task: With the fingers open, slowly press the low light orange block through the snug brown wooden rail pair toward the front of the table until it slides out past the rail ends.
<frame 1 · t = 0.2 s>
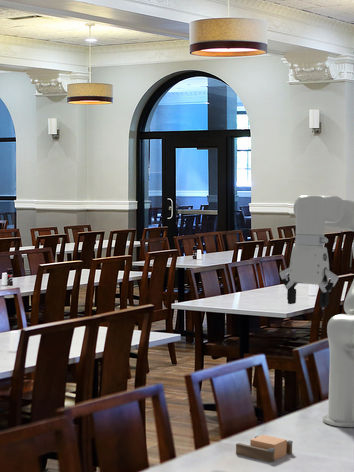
hand: (307, 305, 229), 36 cm above the table, tool pointing down, fingers open, 9 cm apart
light orange block: (268, 455, 216), on the table
brown wooden rail pair: (264, 453, 217), on the table
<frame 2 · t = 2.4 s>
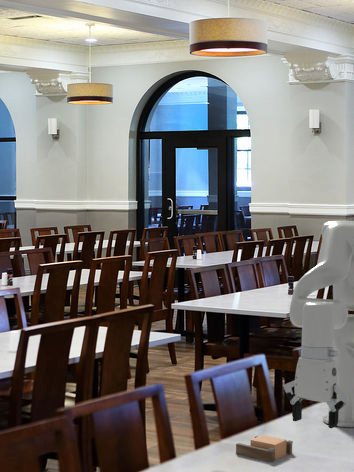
hand: (314, 423, 207), 10 cm above the table, tool pointing down, fingers open, 9 cm apart
nothing on the table moved.
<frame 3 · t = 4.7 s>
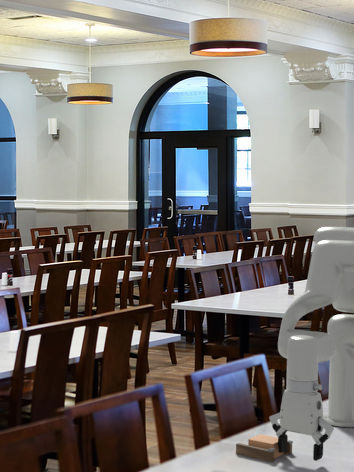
hand: (299, 455, 211), 2 cm above the table, tool pointing down, fingers open, 9 cm apart
nothing on the table moved.
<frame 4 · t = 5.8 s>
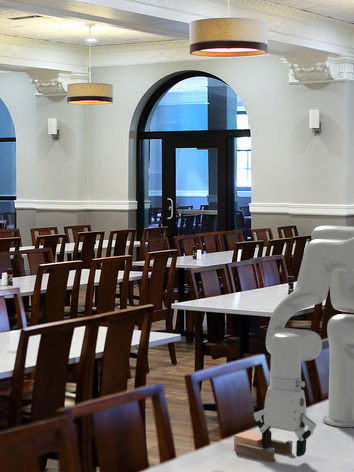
hand: (283, 451, 213), 2 cm above the table, tool pointing down, fingers open, 9 cm apart
light orange block: (251, 451, 220), on the table
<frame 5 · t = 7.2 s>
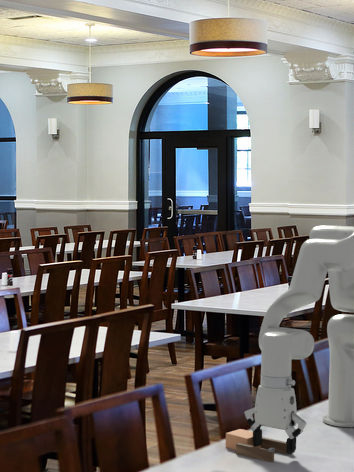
hand: (273, 449, 215), 2 cm above the table, tool pointing down, fingers open, 9 cm apart
light orange block: (243, 448, 222), on the table
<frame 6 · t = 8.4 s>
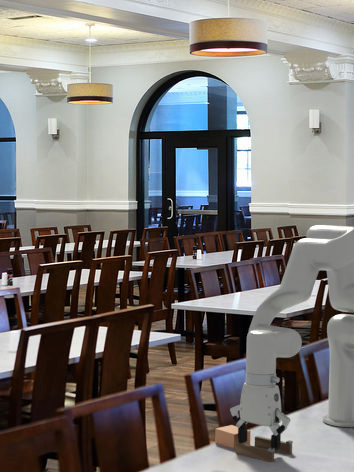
hand: (258, 446, 218), 2 cm above the table, tool pointing down, fingers open, 9 cm apart
light orange block: (232, 444, 225), on the table
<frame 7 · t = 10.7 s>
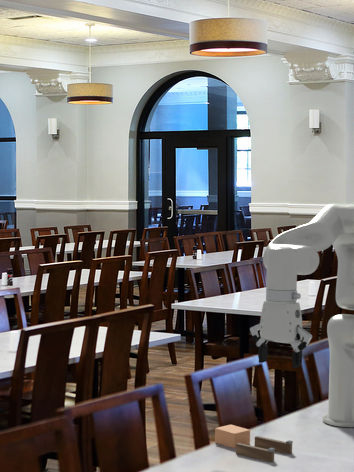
hand: (279, 364, 214), 23 cm above the table, tool pointing down, fingers open, 9 cm apart
nothing on the table moved.
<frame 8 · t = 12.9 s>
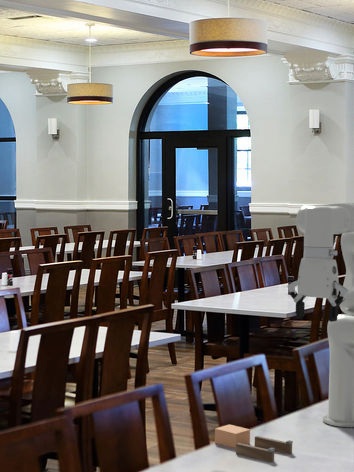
hand: (316, 319, 224), 33 cm above the table, tool pointing down, fingers open, 9 cm apart
nothing on the table moved.
at the end: light orange block inside the target area (2.5 cm from its centre), on the table; light orange block tilted 0°; light orange block moved 12.7 cm from its start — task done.
